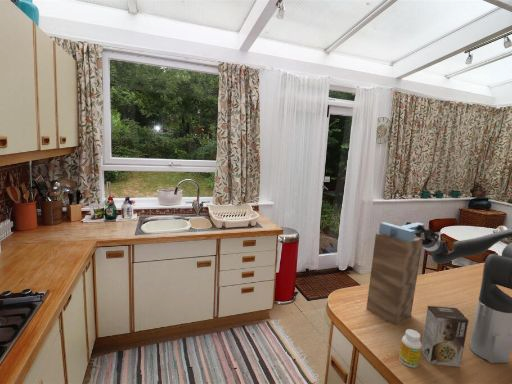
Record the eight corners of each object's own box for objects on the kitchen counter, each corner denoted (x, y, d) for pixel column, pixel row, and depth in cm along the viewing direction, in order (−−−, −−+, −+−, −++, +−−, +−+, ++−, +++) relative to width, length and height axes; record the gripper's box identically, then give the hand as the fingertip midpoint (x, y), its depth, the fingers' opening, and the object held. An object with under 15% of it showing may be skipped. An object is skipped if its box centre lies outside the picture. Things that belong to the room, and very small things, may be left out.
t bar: (405, 226, 123) (406, 217, 122) (435, 234, 113) (437, 224, 113) (378, 232, 112) (380, 223, 111) (409, 242, 102) (411, 231, 101)
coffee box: (448, 352, 93) (457, 307, 90) (460, 367, 87) (470, 320, 84) (419, 349, 94) (427, 304, 91) (429, 364, 88) (437, 316, 85)
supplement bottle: (408, 369, 85) (412, 340, 84) (395, 356, 90) (399, 328, 89) (422, 366, 87) (427, 337, 85) (409, 353, 92) (413, 326, 90)
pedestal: (383, 300, 123) (392, 229, 117) (411, 314, 113) (423, 238, 108) (366, 308, 116) (375, 233, 111) (394, 324, 107) (406, 243, 101)
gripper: (414, 227, 130) (399, 212, 120) (448, 237, 119) (435, 221, 109) (408, 242, 129) (392, 228, 119) (442, 253, 118) (428, 239, 108)
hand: (413, 225), depth 114 cm, fingers open, 3 cm apart
